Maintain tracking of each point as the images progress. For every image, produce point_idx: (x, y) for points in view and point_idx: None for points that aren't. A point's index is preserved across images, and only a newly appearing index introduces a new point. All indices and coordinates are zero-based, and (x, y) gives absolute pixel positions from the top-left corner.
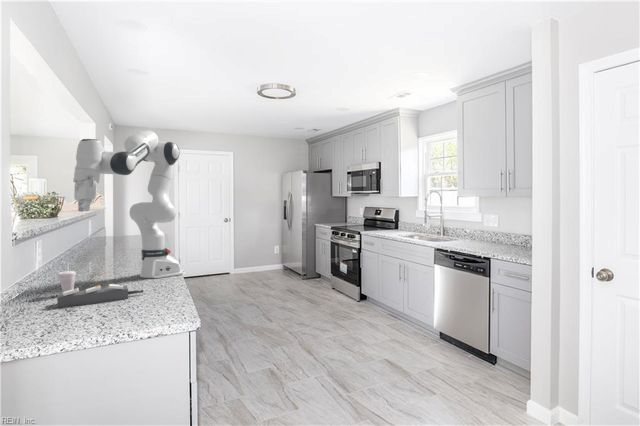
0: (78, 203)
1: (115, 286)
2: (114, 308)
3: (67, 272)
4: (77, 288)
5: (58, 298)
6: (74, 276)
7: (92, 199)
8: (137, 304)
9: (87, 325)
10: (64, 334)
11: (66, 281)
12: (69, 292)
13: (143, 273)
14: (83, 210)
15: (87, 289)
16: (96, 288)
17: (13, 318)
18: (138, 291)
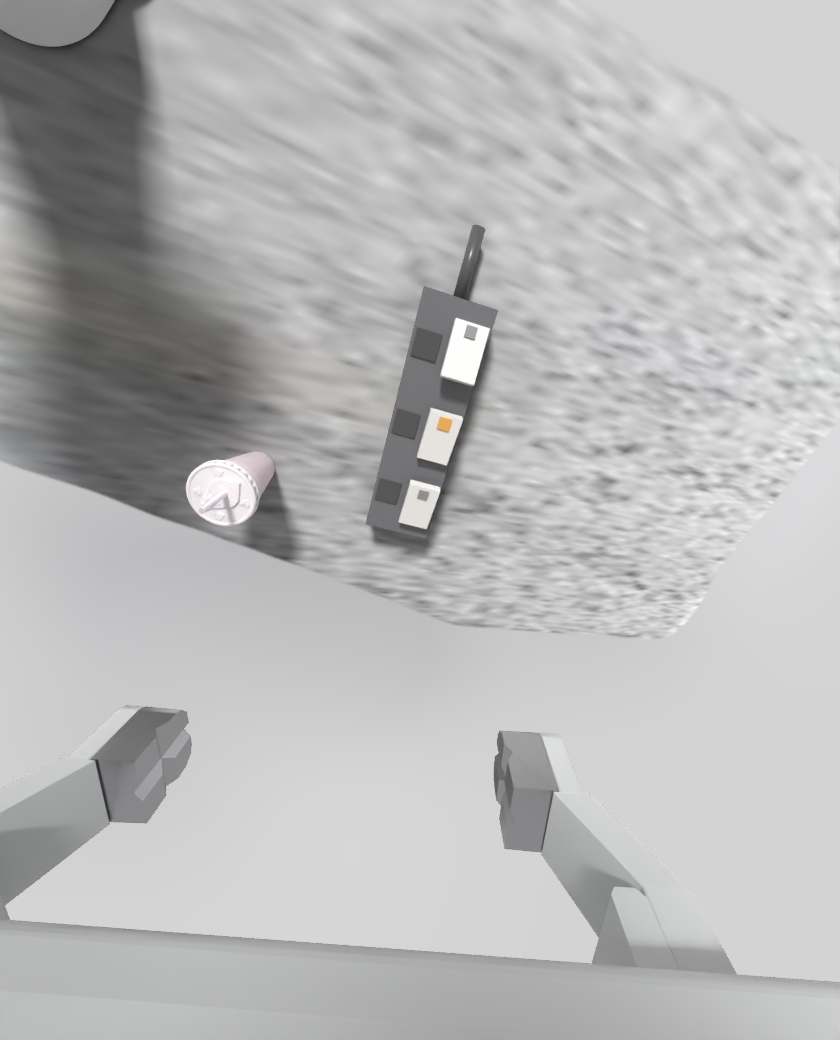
0: (4, 903)
1: (480, 360)
2: (575, 400)
3: (230, 497)
4: (422, 488)
5: (425, 534)
6: (241, 466)
7: (743, 977)
8: (600, 319)
9: (664, 504)
10: (677, 555)
11: (261, 492)
12: (432, 512)
13: (50, 12)
14: (173, 719)
15: (430, 455)
16: (458, 432)
17: (443, 612)
18: (478, 253)
